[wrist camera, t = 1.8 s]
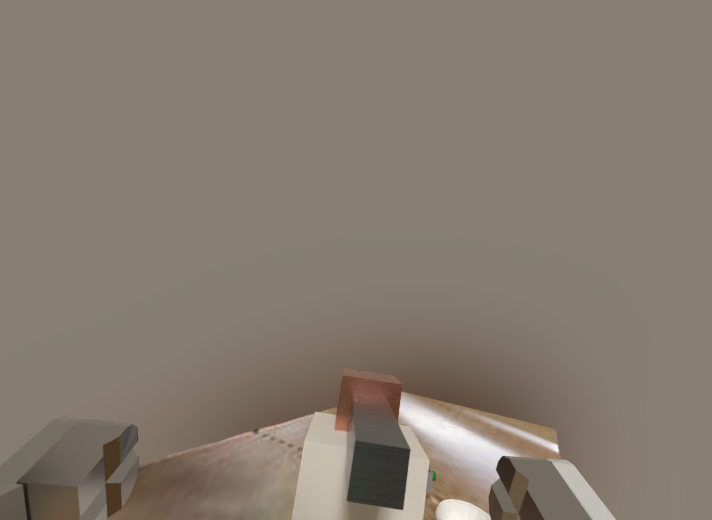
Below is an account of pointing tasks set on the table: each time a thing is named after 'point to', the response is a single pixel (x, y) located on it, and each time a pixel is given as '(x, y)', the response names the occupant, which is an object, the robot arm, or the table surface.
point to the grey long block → (373, 438)
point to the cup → (459, 511)
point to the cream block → (329, 478)
